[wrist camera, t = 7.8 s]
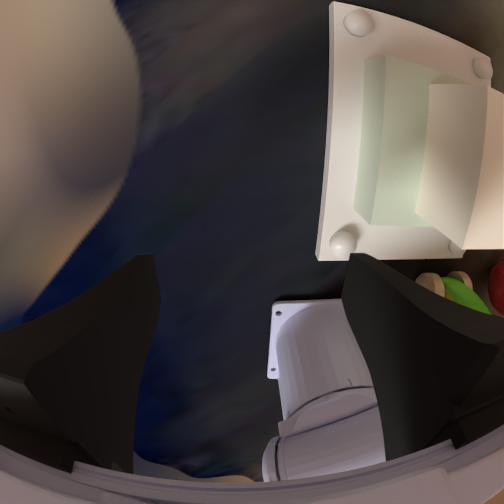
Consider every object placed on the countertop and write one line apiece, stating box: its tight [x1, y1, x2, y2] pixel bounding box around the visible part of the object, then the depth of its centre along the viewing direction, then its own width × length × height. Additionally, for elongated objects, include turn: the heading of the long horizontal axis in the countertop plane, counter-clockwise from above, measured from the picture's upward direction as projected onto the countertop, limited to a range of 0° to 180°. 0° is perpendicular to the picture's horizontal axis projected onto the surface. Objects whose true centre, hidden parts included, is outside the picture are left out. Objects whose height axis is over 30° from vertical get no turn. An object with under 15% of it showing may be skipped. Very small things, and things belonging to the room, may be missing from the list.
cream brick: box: [415, 84, 504, 249], centre depth 12 cm, size 8×4×5 cm, turn 179°
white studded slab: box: [315, 1, 493, 261], centre depth 16 cm, size 18×14×4 cm
